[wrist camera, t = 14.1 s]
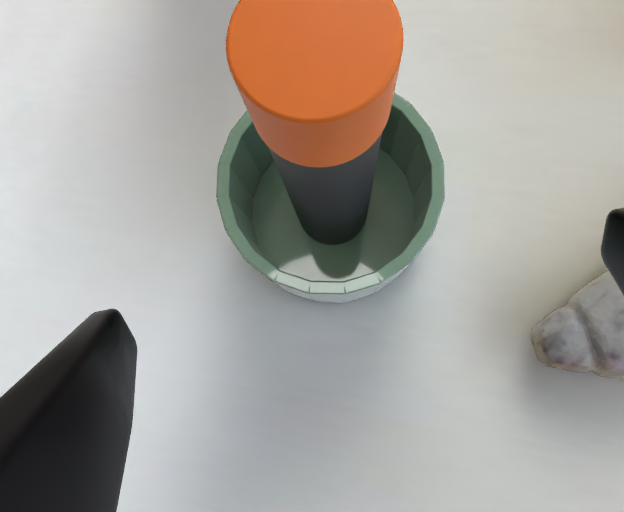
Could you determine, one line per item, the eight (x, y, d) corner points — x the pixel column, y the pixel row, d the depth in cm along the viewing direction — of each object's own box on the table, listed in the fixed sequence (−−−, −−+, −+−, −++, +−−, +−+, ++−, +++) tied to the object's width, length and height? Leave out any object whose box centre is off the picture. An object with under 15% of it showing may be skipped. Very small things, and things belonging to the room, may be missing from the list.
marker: (357, 256, 21) (374, 142, 8) (286, 235, 22) (200, 95, 9) (378, 187, 22) (425, -22, 9) (308, 167, 22) (257, -60, 9)
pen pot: (423, 304, 21) (446, 296, 16) (241, 301, 22) (210, 292, 17) (421, 129, 22) (442, 72, 18) (248, 130, 23) (222, 75, 18)
